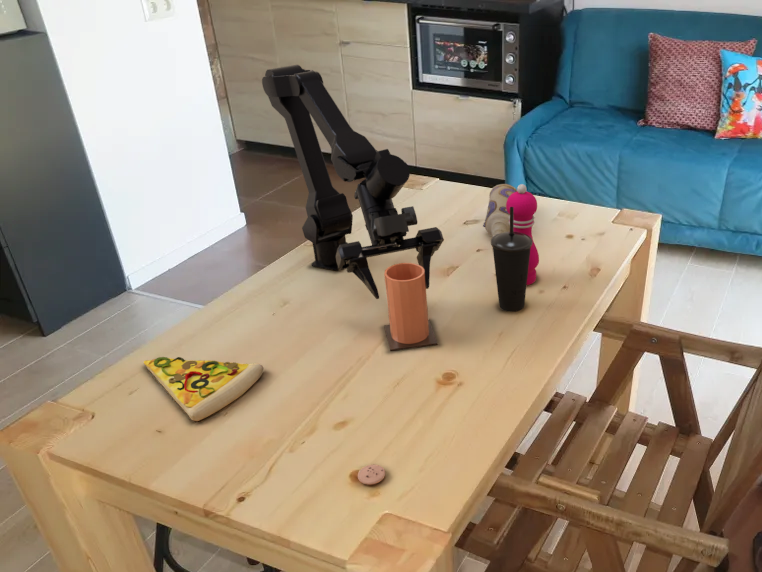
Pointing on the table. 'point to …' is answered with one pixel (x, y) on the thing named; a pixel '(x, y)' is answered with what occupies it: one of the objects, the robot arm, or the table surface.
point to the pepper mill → (525, 223)
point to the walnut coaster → (400, 346)
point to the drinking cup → (511, 266)
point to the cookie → (371, 474)
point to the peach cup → (407, 302)
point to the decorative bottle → (498, 210)
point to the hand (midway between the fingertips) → (403, 293)
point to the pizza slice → (203, 382)
